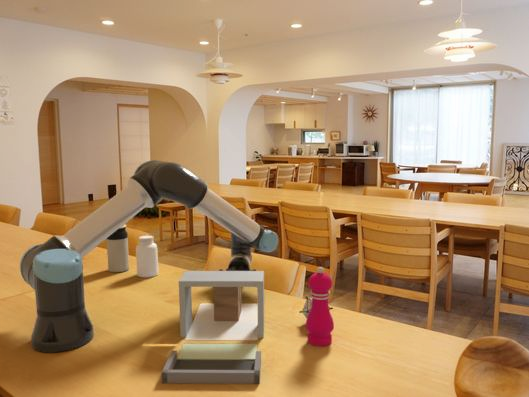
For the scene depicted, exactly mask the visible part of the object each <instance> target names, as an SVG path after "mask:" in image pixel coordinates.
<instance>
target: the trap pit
mask: <svg viewBox="0 0 529 397" xmlns="http://www.w3.org/2000/svg"><path fill="white" fill-rule="evenodd" d="M177 358H178V350H171V352H170V354H169V356H168V358H167V360H166V362H165V364H164V367H163V369H162V371H161V384H225V385H226V384H238V385H239V384H241V385H242V384H243V385H244V384H247V385H249V384H250V385H251V384H254V385H258V384H259V385H260V383H261V382H260V380H261V370H262V369H261V366H262V351H261V350H257V351H256V356H255V360H177Z"/></svg>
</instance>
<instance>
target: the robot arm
mask: <svg viewBox="0 0 529 397" xmlns="http://www.w3.org/2000/svg"><path fill="white" fill-rule="evenodd" d="M126 183H127V186H125V187H124V188H122V190H120V191H119V192H117V194H115V195H114V196H113V197H111V198H110V199H108V200H107V201H106V202H104V203H103V204H102V205H101V206H99V207H98V208H97V209H96V210H94V211H93V212H92V213H90V214H89V215H88V216H86V217H85V218H83V219H82V220H81V221H80V222H78V223H77V224H76V225H75V226H73V227H72V228H71V229H70V230H67V232H66V233H64V234H63V235H56V234H54V235H53V236H52V237H50V238H48V240H46V241H45V242H44V243H38V244H36V245H33V246H31V247H29V248H28V249H27V250H26V251H25V252H24V253H23V255H22V256H21V259H20V262H19V270H20V274H21V277H22V279H23V280H24V282H25V283H26V284H28V285H29V286H30V287H31V288H32V289H33V290H34V292H35V296H34V297H35V305H36V306H35V308H36V318H35V322H34V324H33V325H34V327H33V329H32V334H31V339H30V340H31V347H32V349H34V350H35V349H36V350H35V351H37V350H39V351H38V352H40V351H42V352H41V353H61V352H60V351H62V352H66V350H67V351H71V350H75V349H77V347H78V348H79V347H82V346H84V345H86V344H88V343H89V342H91V340H93V338H94V336H95V332H94V331H95V330H94V324H93V323H92V321H91V318H90V316H89V314H88V311H87V310H86V302H85V287H84V286H85V284H84V272H83V271H84V263H83V260H84V257H85V256H87V255H88V254H89V253H90V252H92V251H93V250H95V248H97V247H98V246H100V244H101V243H103V242H104V241H105V240H107V238H108V237H109V236H110V235H111V234H113V233H114V232H115V231H116V230H117V229H119V228H120V227H121V226H122V225H124V224H125V225H126V223H128V222H129V221H130V220H131V219H133V217H135V216H136V215H137V214H138V213H139V212H141V211H142V210H143V209H145V208H151V209H152V208H154V207H155V206H156V205H158V204H159V203H160V202H161V201H162V200H168V201H172V202H175V203H179V204H180V205H183V206H184V207H186V208H188V209H190V210H193V209H195V210H197V211H198V212H200V213H201V214H202V215H204V216H206V217H207V218H209V219H210V220H212V221H214V223H217V224H218V225H220V226H221V227H223V228H224V229H226V230H227V231H228V232H230V261H229V264H228V266H227V268H226V269H218V271H257V269H251V263H252V260H253V259H252V258H253V256H252V249H255V250H258V251H261V252H265V253H271V252H273V251H275V250H276V248H277V246H278V245H279V236H278V234H277V233H276V232H275V231H272V230H271V229H266V228H264V227H263V226H262V225H261V224H259V223H257V222H256V221H254V220H253V219H252V218H250V217H249V216H247V215H246V214H245V213H244V212H242V211H241V210H240V209H238V208H236V207H235V206H234V205H232V204H231V203H229V202H228V201H227V200H226V199H224V198H222V197H221V196H220V195H218V194H217V193H215V192H214V191H213V190H211V189H210V188H209V186H208V183H207V182H206V181H204V180H203V179H201V178H200V177H199V176H197V175H196V174H195V173H193V172H192V171H190V169H188V168H187V167H185V166H183V165H182V164H180V163H178V162H172V161H171V162H169V161H162V160H157V159H155V160H154V159H153V160H152V159H151V160H149V161H144V162H143V163H140V164H139V166H138V167H136V169H135V171H134V173H133V175H132V176H130V177H128V179H127V182H126ZM74 348H75V349H74ZM70 349H71V350H70Z"/></svg>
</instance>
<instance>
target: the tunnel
mask: <svg viewBox="0 0 529 397" xmlns="http://www.w3.org/2000/svg"><path fill="white" fill-rule="evenodd" d="M192 287H193V288H194V287H195V288H198V287H199V288H200V287H201V288H204V287H205V288H208V287H209V288H210V287H211V288H212V287H241V288H247V287H248V288H252V287H253V288H256V287H257V291H256V292H257V296H256V297H257V299H256V300H257V303H242V302H241V313H240V317H239V321H214V302H212V303H211V302H210V303H207V302H206V303H203V302H202V303H200V304H199V307H198V309H197V312H196V314H195V316H194V317H193V310H192V308H193V305H192V300H193V298H192ZM178 297H179V299H178V300H179V305H178V306H179V324H180V325H179V326H180V327H179V330H180V335H179V336H180V338H185V340H184V341H258V339H259V338H260V339H261V338H263V339H264V335H265V271H264V270H256V271H226V270H225V271H219V270H184V273H183V274H182V275H181V277H180V279H178Z"/></svg>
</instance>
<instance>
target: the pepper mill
mask: <svg viewBox="0 0 529 397" xmlns="http://www.w3.org/2000/svg"><path fill="white" fill-rule="evenodd" d="M324 271H325V268H324V267H322V266H319V267H317V269H316V272H314V273H313V274H311V275H310V276H309V279H308V287H309V288H310V289H311V290H310V298H312V307H311V310H310V313H309V315H308V317H307V318H306V322H305V328H306V330H307V331H308V332H307V342H308V343H309V344H310V345H312V346H314V347H315V346H317V347H327V346H328V345H331V344H332V342H333V339H332V338H333V336H332V332H333V331H334V329H335V328H334V326H335V322H334V319H333V317H332V314H331V310H330V311H329V307H330V306H329V299H330V298H331V295H330V294H331V292H330V290H331V288H332V287H333V281H332V277H331V276H330V275H329V274H327V273H326V272H324ZM328 306H329V307H328Z"/></svg>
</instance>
